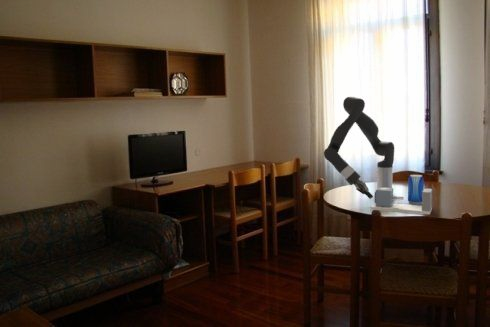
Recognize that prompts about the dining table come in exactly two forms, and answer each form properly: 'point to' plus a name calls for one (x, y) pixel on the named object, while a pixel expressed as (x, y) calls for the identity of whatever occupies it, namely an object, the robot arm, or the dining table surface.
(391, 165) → the robot arm
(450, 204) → the dining table surface
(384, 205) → the gauge carriage
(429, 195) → the board
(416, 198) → the beer can
